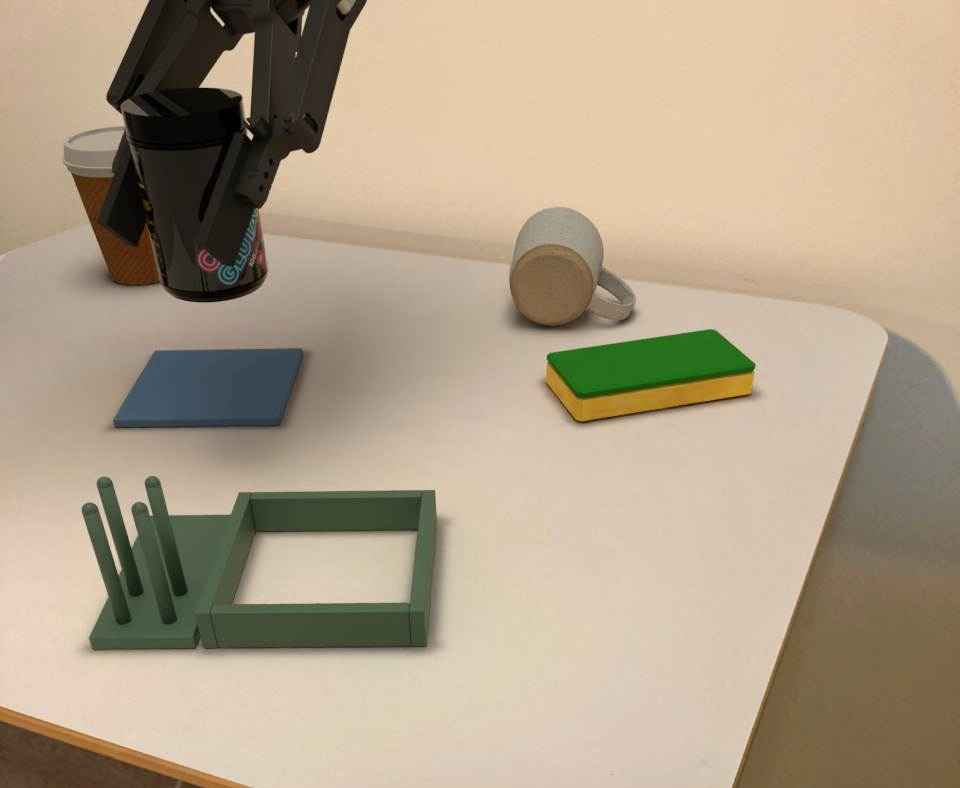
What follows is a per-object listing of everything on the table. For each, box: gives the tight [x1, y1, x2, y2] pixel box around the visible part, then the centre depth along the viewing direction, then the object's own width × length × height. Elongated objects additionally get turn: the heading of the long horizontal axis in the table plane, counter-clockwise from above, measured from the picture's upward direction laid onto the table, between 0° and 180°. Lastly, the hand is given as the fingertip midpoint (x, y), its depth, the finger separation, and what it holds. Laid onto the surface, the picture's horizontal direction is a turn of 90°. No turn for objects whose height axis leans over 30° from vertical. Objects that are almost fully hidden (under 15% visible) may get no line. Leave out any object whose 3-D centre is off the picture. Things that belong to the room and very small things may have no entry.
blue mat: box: [112, 347, 304, 428], centre depth 79 cm, size 12×12×1 cm
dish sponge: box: [545, 328, 757, 422], centre depth 77 cm, size 7×14×2 cm, turn 106°
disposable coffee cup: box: [61, 125, 160, 286], centre depth 95 cm, size 10×10×12 cm
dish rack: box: [81, 475, 438, 650], centre depth 57 cm, size 18×12×8 cm, turn 89°
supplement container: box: [121, 87, 269, 304], centre depth 61 cm, size 7×7×10 cm
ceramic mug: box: [508, 206, 637, 327], centre depth 87 cm, size 11×8×8 cm
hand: (165, 244), depth 60 cm, fingers closed on supplement container, 7 cm apart
